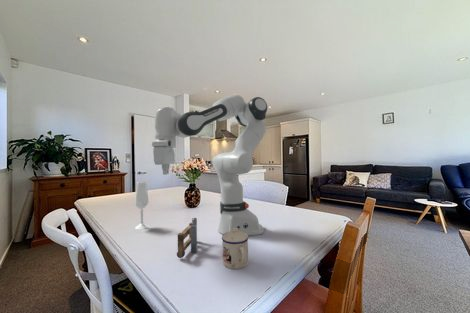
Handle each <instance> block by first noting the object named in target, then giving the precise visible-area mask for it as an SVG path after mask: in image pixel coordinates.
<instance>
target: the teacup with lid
mask: <svg viewBox="0 0 470 313" xmlns="http://www.w3.org/2000/svg"><path fill="white" fill-rule="evenodd" d="M221 240H222V264H223V266H225V267H227V268H228V269H232V270H239V269H242V268H244V267H246V266H247V265H248V264H249V236H248V235H247V234H246V233H244V232H241V231H239V230H238V228H232V231H230V232H227V233H225V234H222V237H221Z"/></svg>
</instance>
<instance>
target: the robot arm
mask: <svg viewBox="0 0 470 313" xmlns="http://www.w3.org/2000/svg"><path fill="white" fill-rule="evenodd" d="M267 112H268V103H267V102H266V100H265V99H264V98H263V97H260V96H255V97H253V98H251V99H250V100H249V101H248V102H246V101H245V100H244V98H243V96H241V95H239V94H234V95H229V96H226V97H222V98H221V99H219V100H217V101H215V102H214V103H213V104H212V106H211V107H209V108H207V109H204V110H202V111H199V112H198V111H197V112H196V111H188V112H185V113H183V114H181V113H180V112H179V113H178V111H176V110H175V109H174V108H173V107H170V106H168V107H162V108H159V109H158V110H156V112H155V117H154V129H155V135H154V140H153V141H151V146H152V147H153V149H152V151H153V153H152V154H153V162H154V165H155V166H156V165H161V170H162V175H169V173H170V167H171V166H170V165H172V164H173V165H174V164H175V162H176V158H175V157H176V155H175V149H176V148H177V141H176V139H177V138H176V137H179V138H188V137H194V136H196V135H198V134H199V133H200V132H202V130H204V128H205V126H207V125H209V124H211V123H213V122H215V121H218V122H224V121H227V120H229V119H232V118H234V117H235V119H236V120H237V122H238V124H239V125H240V126H241V127H244V130H243V131H242V132H241V133H240V134H239V136H238V137H237V138H236V139H235V142H234V145H235V147H234V149H233V150H232V151H228V152H227V151H226V152H221V153H218V154H216V155H214V157H213V159H212V162H211V164H212V168H213V169H214V170H215V172H216V174H217V179H218V181H219V186H220V201H219V202H220V203H219V212H220V218H219V225H218V230H217V231H218V233H219V234H221V235H224V234H225V233H227V232H230V231H232V228H238V230H239V231H241V232H244V233H246V234H247V235H248V237H249V236H256V235H262V234H264V232H265V229H264V226H263V225H262V224H260V223H259V219H258V216H257V215H256V214H255V213H253V212H252V211H251V210H249V207H250V206H249V203H247V202H246V201H245V200H244V188H243V184H242V183H241V181H240V180H239V178H238V176H239V175H245V174H248V173H250V172H251V171H252V169H253V166H254V159H253V158H252V156H253V154H254V151H255V150H256V149H257V147H258V146H259V144H260V143H261V141H262V139H263V138H264V135H265V133H266V131H267V127H266V124H264V122H263V120H265V119H266V116H267ZM174 148H175V149H174Z"/></svg>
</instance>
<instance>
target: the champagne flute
mask: <svg viewBox="0 0 470 313" xmlns="http://www.w3.org/2000/svg"><path fill="white" fill-rule="evenodd" d="M134 196H135V197H134V205H135V206H136V207H137V208H138V209H140V223H139V224H138V225H137V226H135V227H134V229H135V230H144V229H146V228H149V225H148V224H146V223H144V209H145V208H146V207H147V206H148V204H149V193H148V184H147V181H136V186H135V195H134Z"/></svg>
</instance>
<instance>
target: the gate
mask: <svg viewBox="0 0 470 313" xmlns="http://www.w3.org/2000/svg"><path fill="white" fill-rule="evenodd" d="M191 225H194V223H192V222H189V223H188V226H186V228H185V229H184V230H182V231H181V232H179V233H177V252H176V256H177V258H179V259H183V258H184V256H185V255H186V250H187V249H188V248H189V247H190V246H191V235H190V230H191ZM187 237H189V238H188V239H187V240H186V238H187ZM184 240H186V241H184Z"/></svg>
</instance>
